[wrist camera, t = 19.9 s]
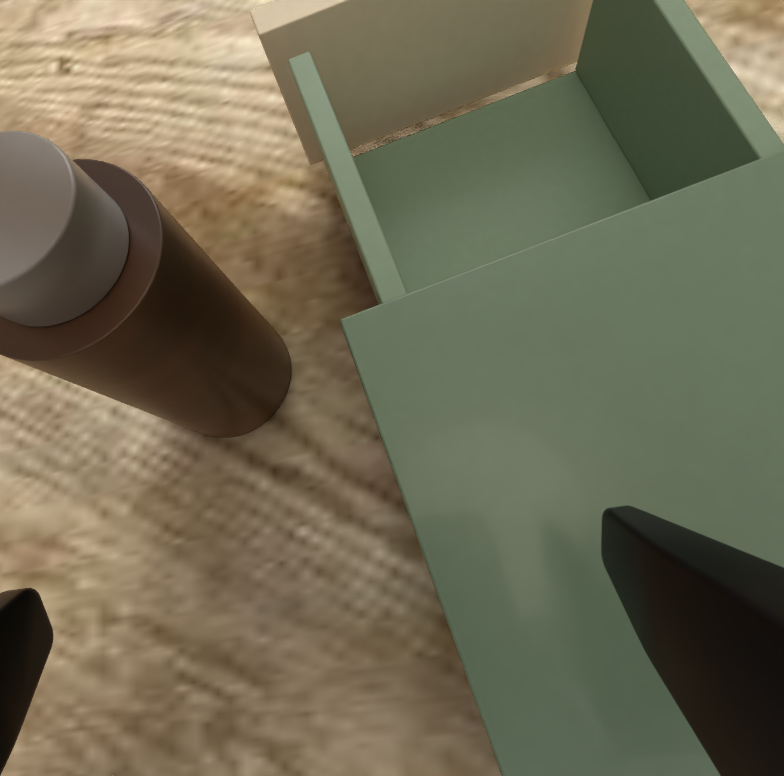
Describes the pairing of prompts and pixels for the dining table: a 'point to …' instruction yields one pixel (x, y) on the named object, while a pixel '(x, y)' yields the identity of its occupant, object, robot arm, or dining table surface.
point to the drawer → (502, 119)
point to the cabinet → (586, 452)
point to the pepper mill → (126, 296)
